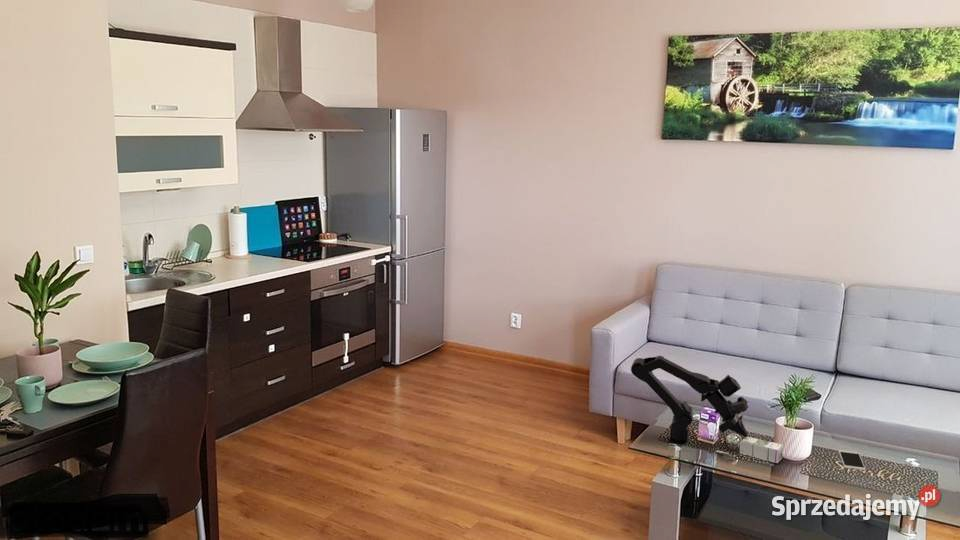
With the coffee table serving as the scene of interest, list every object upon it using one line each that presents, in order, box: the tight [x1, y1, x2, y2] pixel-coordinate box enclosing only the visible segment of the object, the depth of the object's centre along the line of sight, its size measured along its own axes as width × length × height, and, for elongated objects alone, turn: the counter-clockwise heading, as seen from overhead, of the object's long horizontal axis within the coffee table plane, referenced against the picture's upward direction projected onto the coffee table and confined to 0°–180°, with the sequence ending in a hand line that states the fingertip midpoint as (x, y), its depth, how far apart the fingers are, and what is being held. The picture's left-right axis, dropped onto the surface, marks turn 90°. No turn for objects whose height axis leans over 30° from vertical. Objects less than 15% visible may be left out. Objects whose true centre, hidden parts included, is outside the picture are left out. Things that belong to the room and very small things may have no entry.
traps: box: [721, 453, 736, 462], centre depth 294 cm, size 6×23×1 cm, turn 124°
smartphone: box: [838, 449, 866, 471], centre depth 287 cm, size 7×16×1 cm, turn 163°
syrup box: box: [739, 435, 784, 464], centre depth 289 cm, size 6×6×14 cm
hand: (747, 436), depth 292 cm, fingers closed
